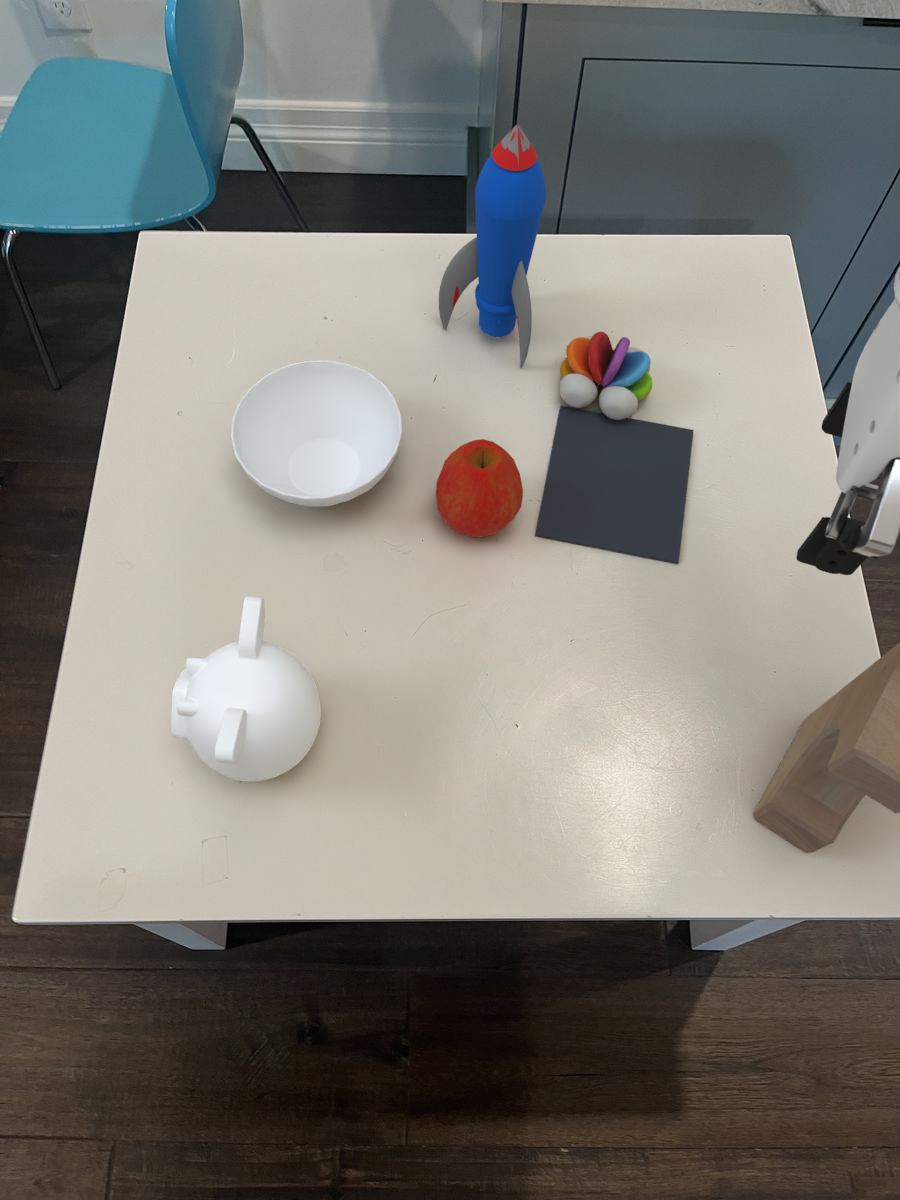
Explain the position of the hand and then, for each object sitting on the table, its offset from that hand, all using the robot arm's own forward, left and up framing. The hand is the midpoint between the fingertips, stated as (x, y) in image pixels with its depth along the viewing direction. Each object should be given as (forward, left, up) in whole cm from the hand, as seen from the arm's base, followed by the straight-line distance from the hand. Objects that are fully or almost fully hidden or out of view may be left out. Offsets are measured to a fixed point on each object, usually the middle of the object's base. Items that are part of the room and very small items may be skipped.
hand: (834, 496), depth 53 cm
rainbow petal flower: (+13, -30, -30) cm, 44 cm away
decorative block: (-10, +8, -30) cm, 33 cm away
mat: (+10, -19, -30) cm, 37 cm away
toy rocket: (+27, -35, -30) cm, 53 cm away
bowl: (+39, -14, -30) cm, 51 cm away
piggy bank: (+37, +14, -30) cm, 49 cm away
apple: (+23, -12, -30) cm, 40 cm away
